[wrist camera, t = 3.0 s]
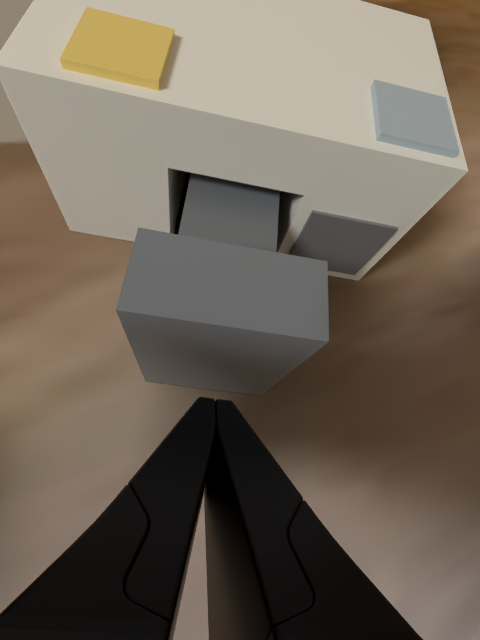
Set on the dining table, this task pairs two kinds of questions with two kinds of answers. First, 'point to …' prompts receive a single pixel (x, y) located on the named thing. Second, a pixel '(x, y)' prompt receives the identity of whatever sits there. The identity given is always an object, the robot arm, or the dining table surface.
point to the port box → (238, 115)
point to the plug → (222, 294)
